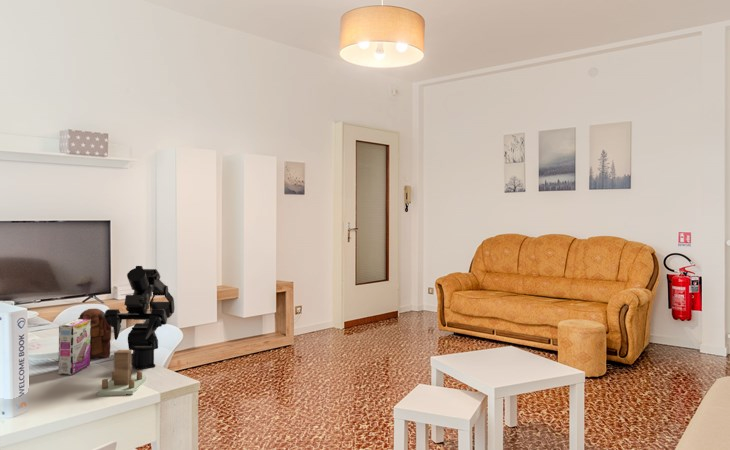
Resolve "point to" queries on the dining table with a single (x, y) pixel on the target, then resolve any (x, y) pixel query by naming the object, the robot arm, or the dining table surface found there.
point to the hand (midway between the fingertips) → (130, 339)
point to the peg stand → (110, 389)
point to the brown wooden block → (122, 367)
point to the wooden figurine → (98, 333)
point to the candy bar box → (74, 346)
